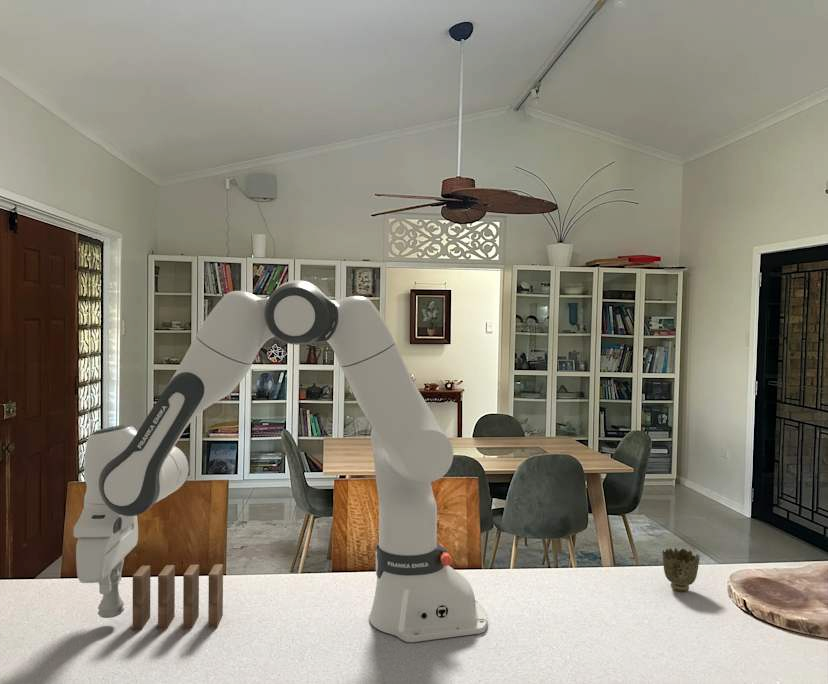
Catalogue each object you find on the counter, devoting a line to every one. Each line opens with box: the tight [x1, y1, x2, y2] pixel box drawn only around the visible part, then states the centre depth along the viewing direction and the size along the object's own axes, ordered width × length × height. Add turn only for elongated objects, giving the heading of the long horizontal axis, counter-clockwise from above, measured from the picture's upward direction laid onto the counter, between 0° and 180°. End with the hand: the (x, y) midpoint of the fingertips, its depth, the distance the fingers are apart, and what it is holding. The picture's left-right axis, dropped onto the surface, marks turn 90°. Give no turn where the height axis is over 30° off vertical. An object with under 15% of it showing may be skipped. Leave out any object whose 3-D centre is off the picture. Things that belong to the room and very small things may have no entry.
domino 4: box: [207, 563, 224, 629], centre depth 121 cm, size 2×5×10 cm, turn 5°
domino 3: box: [182, 564, 200, 630], centre depth 121 cm, size 2×5×10 cm, turn 5°
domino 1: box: [132, 565, 151, 631], centre depth 120 cm, size 2×5×10 cm, turn 5°
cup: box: [661, 547, 701, 593], centre depth 139 cm, size 8×7×8 cm
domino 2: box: [157, 564, 176, 631], centre depth 120 cm, size 2×5×10 cm, turn 5°
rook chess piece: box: [97, 568, 125, 619], centre depth 119 cm, size 4×4×8 cm
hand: (110, 587), depth 119 cm, fingers closed on rook chess piece, 3 cm apart
